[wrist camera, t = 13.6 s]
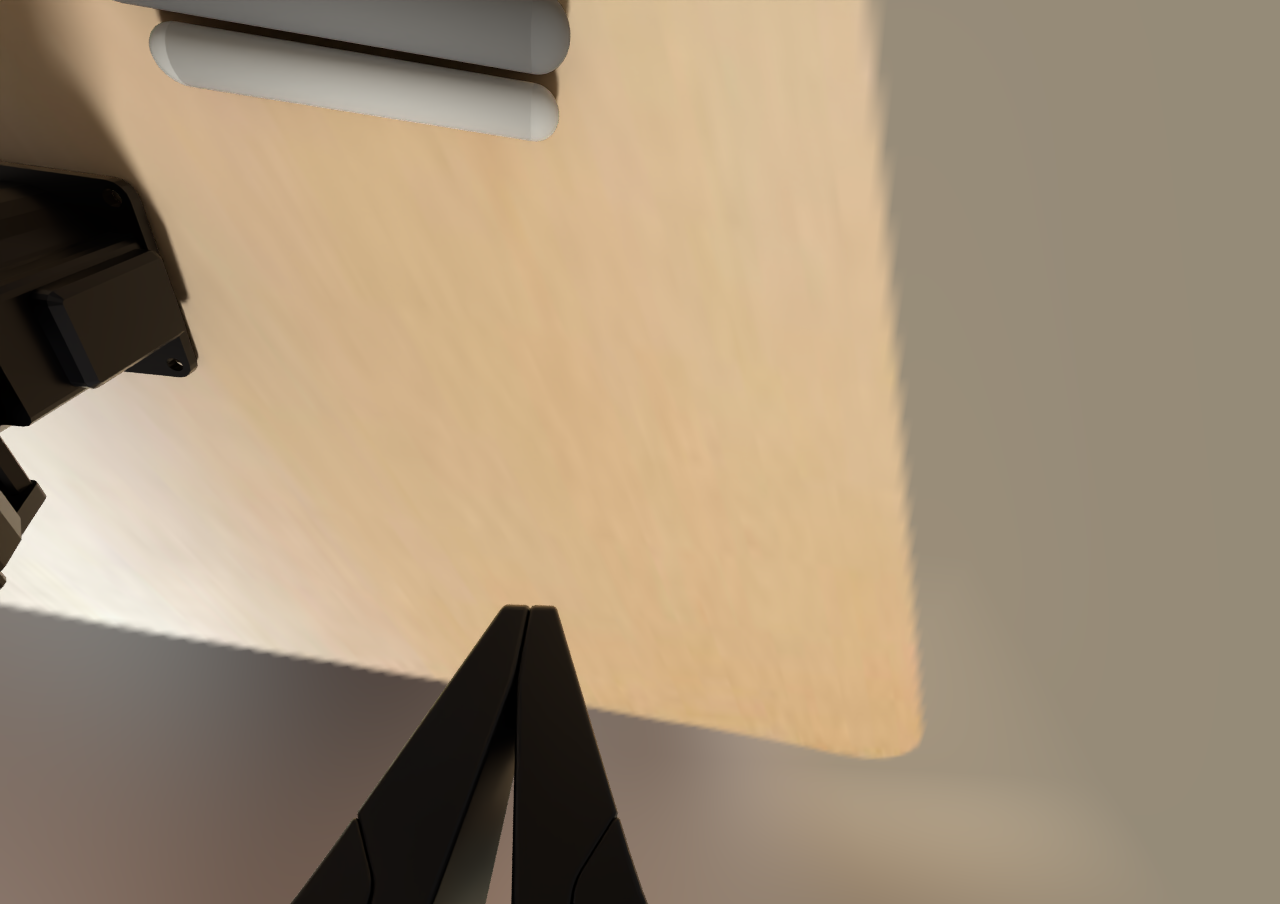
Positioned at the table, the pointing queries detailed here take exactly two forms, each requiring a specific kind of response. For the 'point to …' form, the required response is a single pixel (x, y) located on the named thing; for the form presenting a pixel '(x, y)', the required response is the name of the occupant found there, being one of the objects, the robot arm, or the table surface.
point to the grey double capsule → (377, 57)
